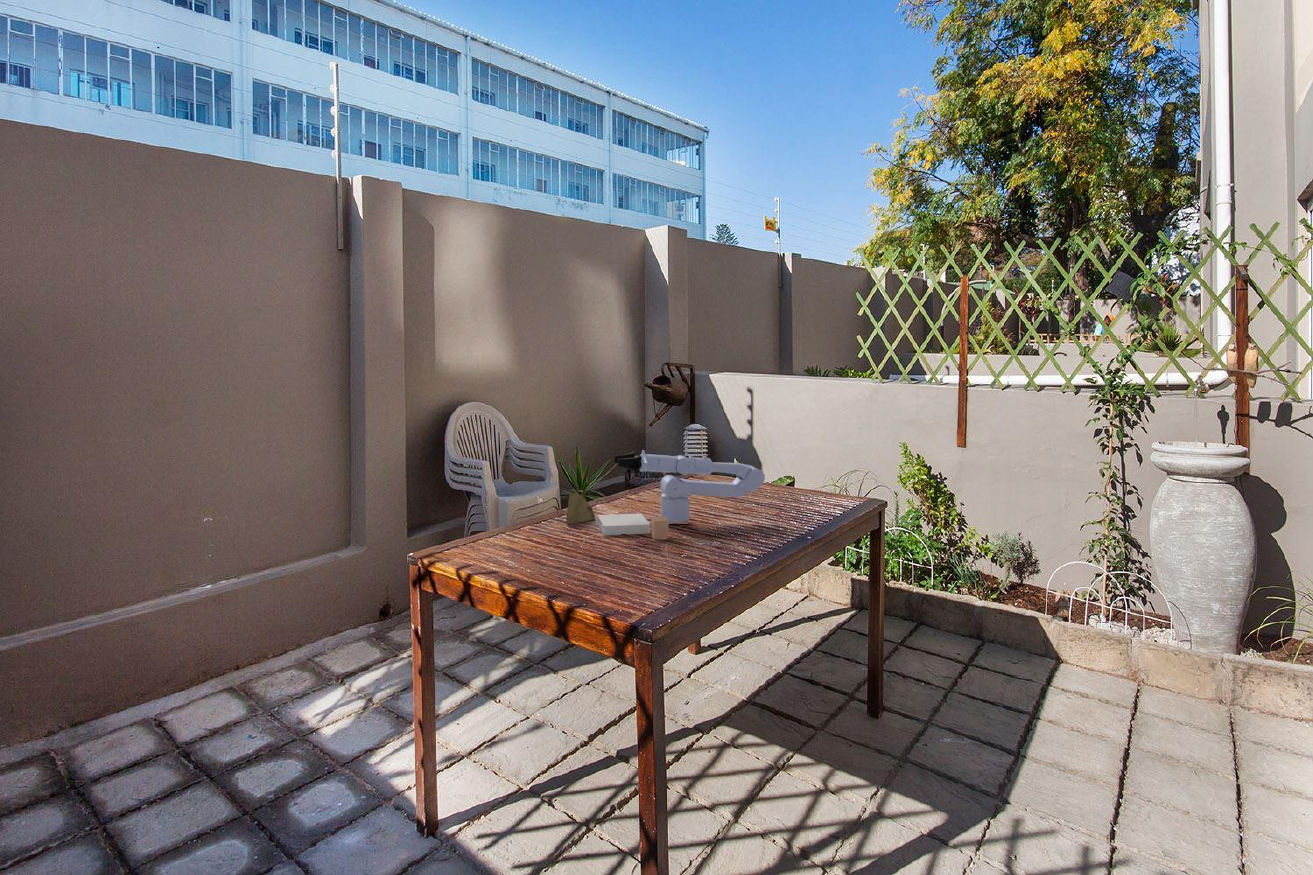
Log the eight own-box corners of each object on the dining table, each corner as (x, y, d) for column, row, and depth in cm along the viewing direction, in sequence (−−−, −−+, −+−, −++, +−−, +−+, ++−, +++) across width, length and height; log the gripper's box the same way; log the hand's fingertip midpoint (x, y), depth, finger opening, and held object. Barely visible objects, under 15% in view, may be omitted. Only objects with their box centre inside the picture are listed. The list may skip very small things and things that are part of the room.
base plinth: (641, 522, 248) (641, 513, 248) (650, 533, 234) (650, 524, 234) (597, 523, 245) (597, 515, 245) (603, 535, 231) (603, 526, 230)
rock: (596, 510, 256) (568, 506, 255) (599, 494, 250) (570, 490, 249) (593, 534, 248) (564, 530, 247) (595, 518, 242) (565, 514, 241)
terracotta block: (665, 535, 232) (665, 516, 231) (668, 539, 228) (668, 520, 227) (651, 535, 231) (651, 517, 230) (654, 539, 227) (654, 520, 226)
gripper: (652, 448, 251) (614, 445, 248) (662, 454, 237) (621, 451, 234) (650, 468, 252) (612, 466, 249) (660, 476, 238) (619, 473, 235)
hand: (616, 460), depth 242 cm, fingers open, 7 cm apart
